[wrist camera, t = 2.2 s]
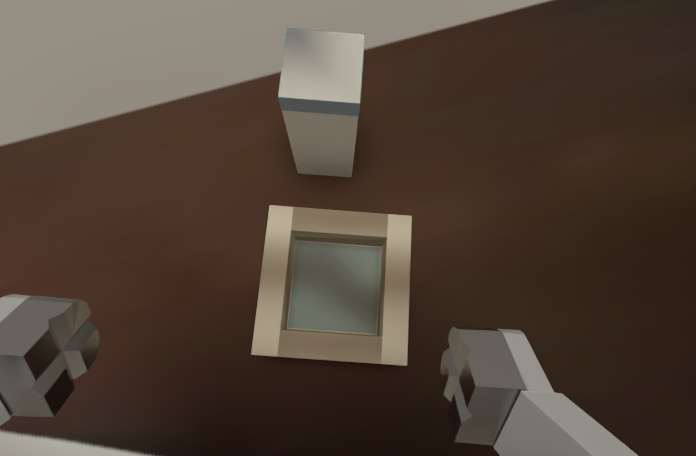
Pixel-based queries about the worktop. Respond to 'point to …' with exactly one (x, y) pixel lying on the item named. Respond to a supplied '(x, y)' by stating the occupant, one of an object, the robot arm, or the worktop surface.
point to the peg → (322, 98)
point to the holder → (334, 286)
